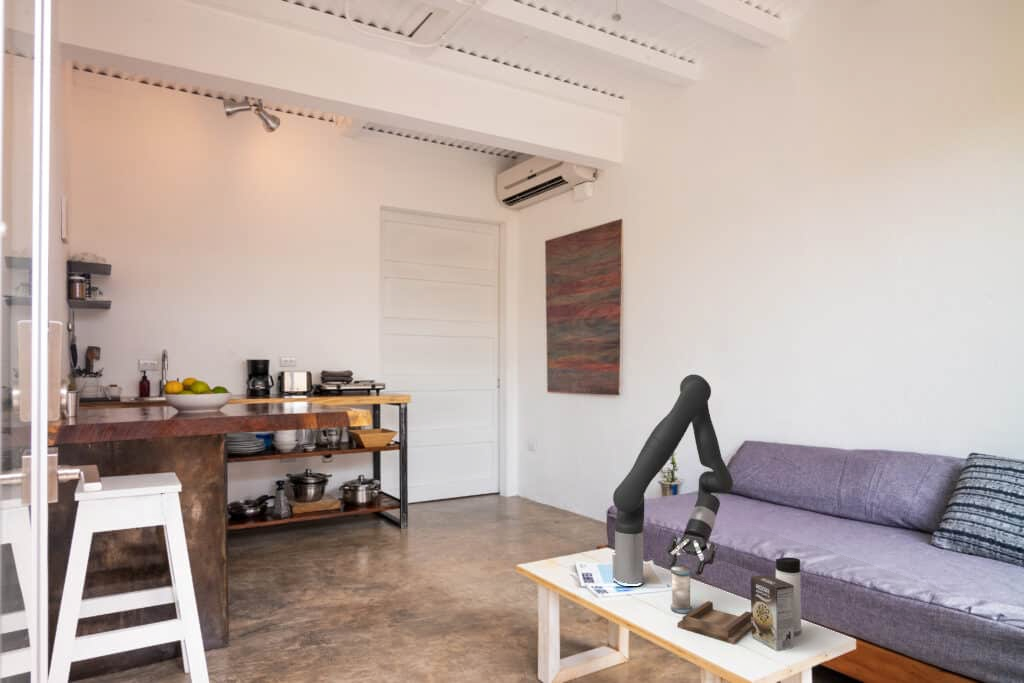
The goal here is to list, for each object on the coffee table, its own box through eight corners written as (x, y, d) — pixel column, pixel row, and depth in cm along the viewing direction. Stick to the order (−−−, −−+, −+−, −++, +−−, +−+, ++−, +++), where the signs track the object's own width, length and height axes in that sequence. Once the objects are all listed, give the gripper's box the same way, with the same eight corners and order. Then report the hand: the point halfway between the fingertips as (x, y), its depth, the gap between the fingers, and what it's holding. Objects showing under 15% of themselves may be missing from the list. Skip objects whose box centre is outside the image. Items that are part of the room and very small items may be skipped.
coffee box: (750, 637, 170) (749, 576, 171) (768, 633, 173) (767, 573, 173) (776, 651, 162) (775, 587, 163) (795, 647, 164) (794, 584, 165)
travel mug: (791, 638, 170) (790, 562, 170) (771, 629, 176) (770, 555, 176) (807, 633, 173) (806, 559, 173) (787, 624, 179) (786, 552, 179)
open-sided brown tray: (677, 627, 177) (677, 615, 177) (703, 610, 189) (703, 599, 189) (733, 644, 166) (733, 631, 166) (757, 625, 178) (757, 614, 178)
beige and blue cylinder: (667, 610, 189) (667, 569, 189) (676, 604, 193) (676, 564, 194) (686, 615, 185) (685, 573, 185) (695, 609, 189) (695, 568, 190)
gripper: (675, 514, 202) (658, 559, 193) (718, 521, 193) (702, 569, 184) (683, 528, 206) (666, 572, 197) (726, 535, 197) (710, 582, 188)
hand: (683, 570), depth 191 cm, fingers open, 8 cm apart
